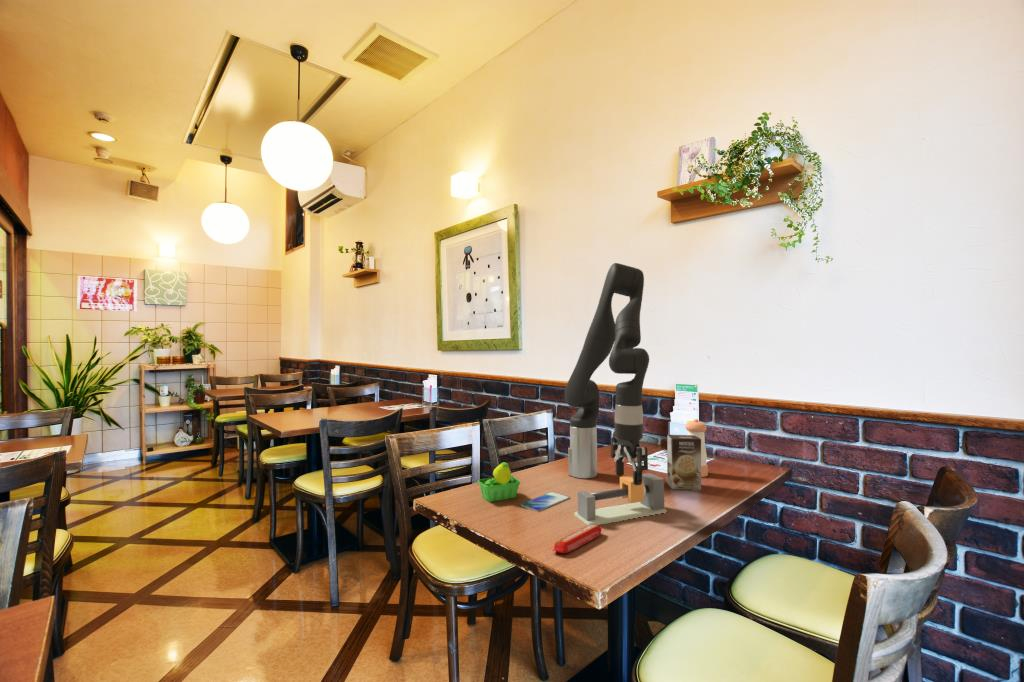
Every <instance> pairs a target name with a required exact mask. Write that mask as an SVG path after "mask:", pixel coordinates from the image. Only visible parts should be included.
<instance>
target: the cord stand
mask: <svg viewBox="0 0 1024 682" xmlns="http://www.w3.org/2000/svg"><path fill="white" fill-rule="evenodd" d="M642 480H643V499H644V501H642V502H636V503H630V502H628V503H623V504H618V505H612V506H606V507H600V508H596V501H601V500H608V499H615V498H621V497H622V496H628V488H623V489H620V488H617V489H612V490H611V489H610V490H604V491H598V492H591V493H590V492H588V491H587V490H581V491H577V511H574V512H573V513H574V514H573V515H574V516H575V517H576V518H577V519H579V520H580V521H581V522H583V523H584V524H585V525H586V526H589V525H598V526H600V525H606V524H611V523H612V522H613V523H616V522H617V523H618V522H624V521H628V519H630V520H634V519H633V518H635V519H639V518H638V517H641V518H644V517H643V516H647V517H650V516H649V515H653V516H656V515H655V514H658V515H662V514H661V513H664V514H667V513H666V512H668V511H667V510H668V509H666V508H665V478H663V477H660V476H658V475H656V474H653V473H651V472H648V473H647V472H646V473H642ZM623 520H624V521H623Z"/></svg>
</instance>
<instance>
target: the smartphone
mask: <svg viewBox="0 0 1024 682" xmlns="http://www.w3.org/2000/svg"><path fill="white" fill-rule="evenodd" d="M570 499H571V497H570V496H568V495H564V494H562V493H559V492H555V491H550V492H548V493H545V494H542V495H540V496H537V497H535V498H533V499H530V500H527V501H524V502H522V503H520V507H522V508H525V509H527V510H531V511H533V512H536V511H537V513H539V512H543V511H545V510H547V509H549V507H550V508H552V507H554V506H556V504H557V505H558V503H559V504H561V503H563V501H564V502H565V500H566V501H568V500H570ZM542 510H543V511H542Z"/></svg>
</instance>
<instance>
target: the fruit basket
mask: <svg viewBox="0 0 1024 682" xmlns="http://www.w3.org/2000/svg"><path fill="white" fill-rule="evenodd" d="M492 476H493V477H488V478H481V479H478V480H477V482H478V484H479V488H480V493H481V496H482V498H483V499H484V500H486V501H487V502H489V503H491V502H495V501H501V500H508V499H514V498H516V497H517V493H518V490H519V486H520V483H521V480H519V479H518V478H516V477H514V476H513V475H512V471H511V469H510V465H509V463H508V462H501V463H500V464H499V465H498V466H496V467H495V468H494V470H493V472H492Z"/></svg>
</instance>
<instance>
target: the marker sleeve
mask: <svg viewBox="0 0 1024 682" xmlns="http://www.w3.org/2000/svg"><path fill="white" fill-rule="evenodd" d="M623 488H628V496H622V497H620V499H627V498H628V499H627V502H628V503H636V502H642V501H644V499H643V480H642V484H641V485H634V484H633V474H632V475H625V476H623V475H622V476H619V489H623Z"/></svg>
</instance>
